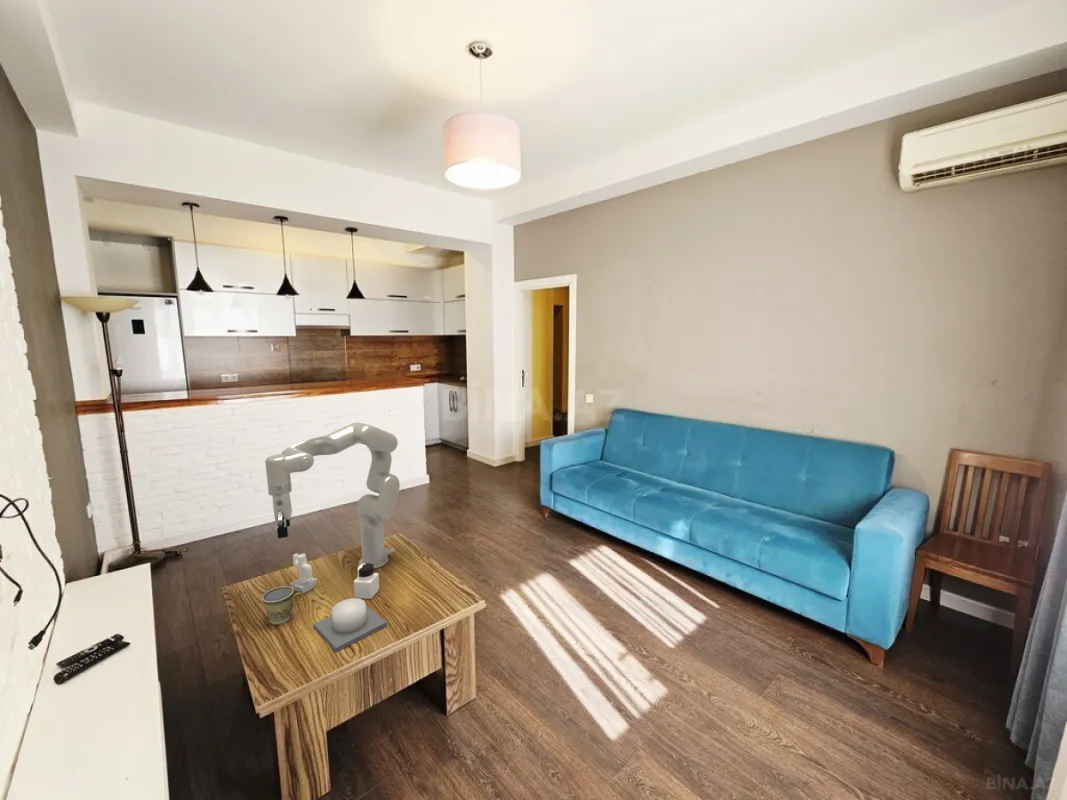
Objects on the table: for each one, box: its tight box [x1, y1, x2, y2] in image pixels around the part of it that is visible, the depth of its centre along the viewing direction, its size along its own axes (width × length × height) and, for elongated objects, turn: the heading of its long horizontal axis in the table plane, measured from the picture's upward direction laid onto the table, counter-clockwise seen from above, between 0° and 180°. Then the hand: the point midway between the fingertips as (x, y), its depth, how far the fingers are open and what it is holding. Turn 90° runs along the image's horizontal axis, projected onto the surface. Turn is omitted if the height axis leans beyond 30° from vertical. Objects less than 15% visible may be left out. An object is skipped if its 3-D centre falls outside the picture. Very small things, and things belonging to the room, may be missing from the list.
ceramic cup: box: [261, 585, 304, 626], centre depth 164 cm, size 13×10×10 cm
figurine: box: [289, 552, 318, 595], centre depth 182 cm, size 7×9×15 cm
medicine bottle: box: [353, 563, 380, 600], centre depth 179 cm, size 7×7×12 cm
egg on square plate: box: [313, 597, 387, 653], centre depth 159 cm, size 18×18×8 cm
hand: (284, 531), depth 170 cm, fingers open, 9 cm apart
